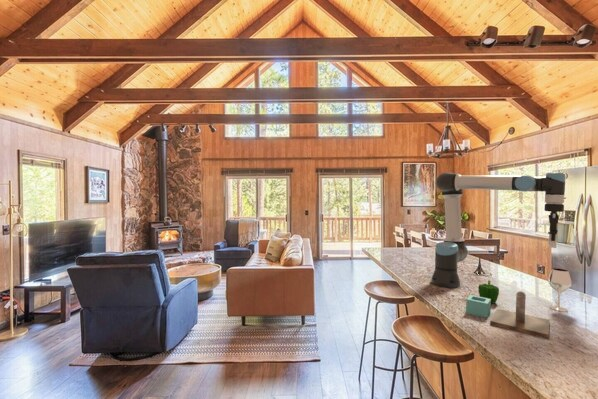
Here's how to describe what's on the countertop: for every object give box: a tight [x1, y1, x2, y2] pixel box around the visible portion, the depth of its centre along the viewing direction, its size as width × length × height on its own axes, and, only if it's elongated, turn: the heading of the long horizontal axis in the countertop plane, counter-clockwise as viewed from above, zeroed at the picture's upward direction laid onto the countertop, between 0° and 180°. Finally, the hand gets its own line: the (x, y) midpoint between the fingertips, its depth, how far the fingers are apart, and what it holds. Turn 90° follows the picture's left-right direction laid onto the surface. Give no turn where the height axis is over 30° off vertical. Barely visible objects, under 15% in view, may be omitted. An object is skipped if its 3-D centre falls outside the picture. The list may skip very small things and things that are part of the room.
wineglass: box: [547, 267, 573, 313], centre depth 142 cm, size 8×8×18 cm
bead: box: [465, 294, 492, 319], centre depth 135 cm, size 8×8×6 cm
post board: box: [489, 291, 550, 340], centre depth 124 cm, size 18×18×13 cm
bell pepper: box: [477, 279, 500, 304], centre depth 150 cm, size 8×8×10 cm
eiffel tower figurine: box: [471, 255, 493, 277], centre depth 205 cm, size 15×10×13 cm
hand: (552, 246), depth 156 cm, fingers open, 13 cm apart
